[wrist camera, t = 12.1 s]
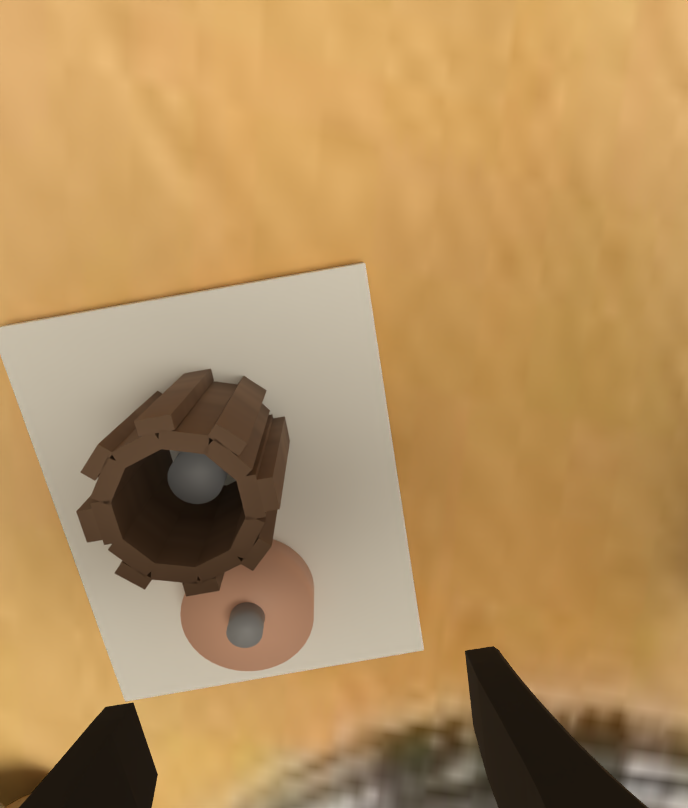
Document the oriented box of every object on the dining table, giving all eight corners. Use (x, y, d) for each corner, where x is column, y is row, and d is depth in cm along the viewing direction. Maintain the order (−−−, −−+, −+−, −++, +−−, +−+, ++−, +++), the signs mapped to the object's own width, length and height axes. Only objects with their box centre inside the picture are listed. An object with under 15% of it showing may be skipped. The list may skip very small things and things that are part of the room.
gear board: (362, 262, 18) (374, 266, 14) (419, 632, 22) (440, 713, 18) (8, 324, 18) (-76, 346, 14) (133, 682, 22) (94, 772, 18)
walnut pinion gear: (272, 357, 18) (254, 399, 13) (301, 494, 19) (295, 577, 14) (122, 383, 18) (49, 435, 13) (162, 518, 19) (110, 609, 14)
